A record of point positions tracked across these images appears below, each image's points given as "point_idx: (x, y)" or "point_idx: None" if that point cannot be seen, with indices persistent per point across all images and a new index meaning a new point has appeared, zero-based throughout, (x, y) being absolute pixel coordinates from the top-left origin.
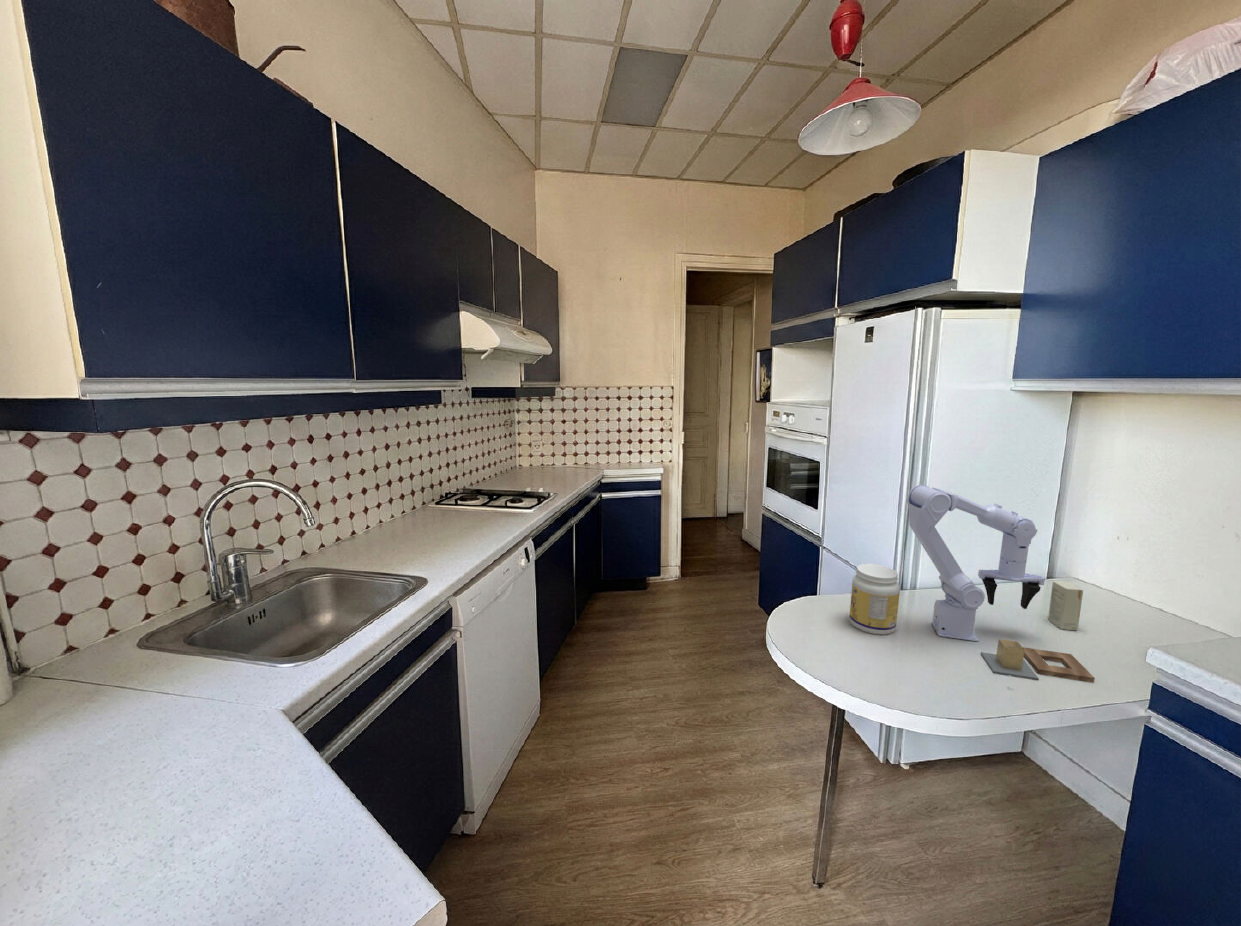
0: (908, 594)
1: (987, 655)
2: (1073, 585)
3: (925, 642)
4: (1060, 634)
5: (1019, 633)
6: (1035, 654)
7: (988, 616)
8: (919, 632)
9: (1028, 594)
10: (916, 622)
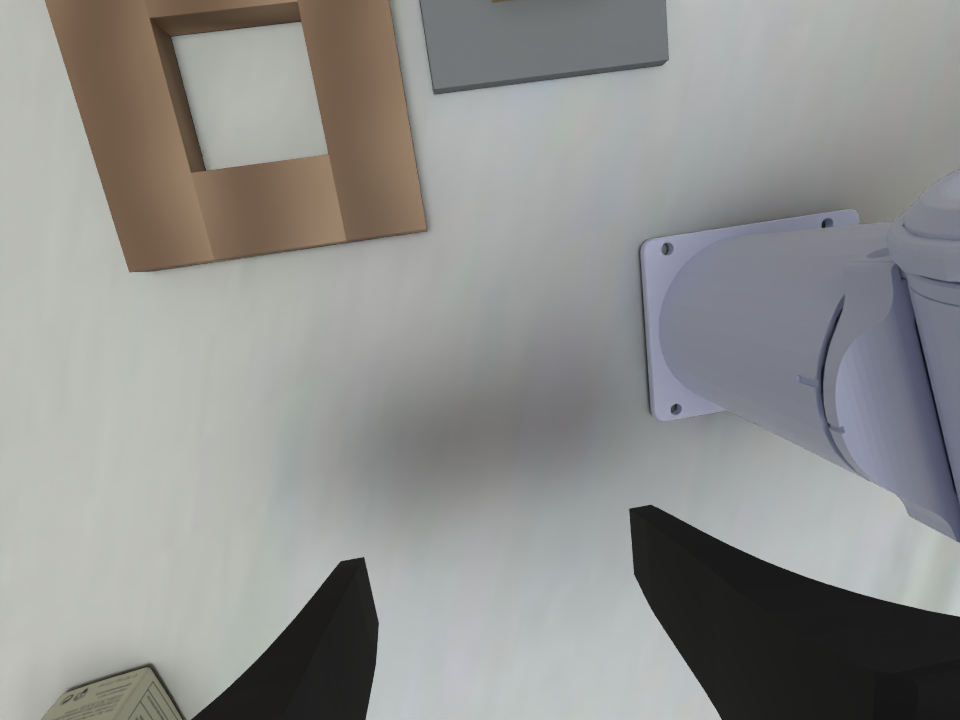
0: None
1: (639, 21)
2: None
3: (944, 78)
4: (162, 595)
5: (384, 492)
6: (351, 148)
7: (511, 640)
8: None
9: (287, 697)
10: None
